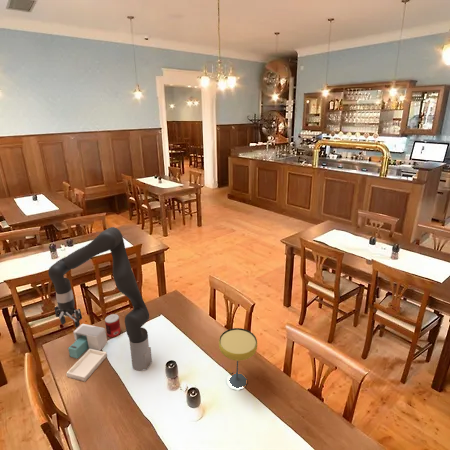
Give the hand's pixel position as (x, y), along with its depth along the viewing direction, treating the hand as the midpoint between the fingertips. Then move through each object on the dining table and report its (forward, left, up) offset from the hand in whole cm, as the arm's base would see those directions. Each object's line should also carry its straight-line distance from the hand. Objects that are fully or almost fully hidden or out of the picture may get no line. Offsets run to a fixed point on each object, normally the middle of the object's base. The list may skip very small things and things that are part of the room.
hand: (70, 324), depth 162 cm
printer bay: (-2, -10, -20) cm, 22 cm away
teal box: (0, -5, -20) cm, 21 cm away
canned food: (-9, -21, -20) cm, 31 cm away
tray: (-11, +5, -20) cm, 23 cm away
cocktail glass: (-88, -7, -20) cm, 90 cm away
